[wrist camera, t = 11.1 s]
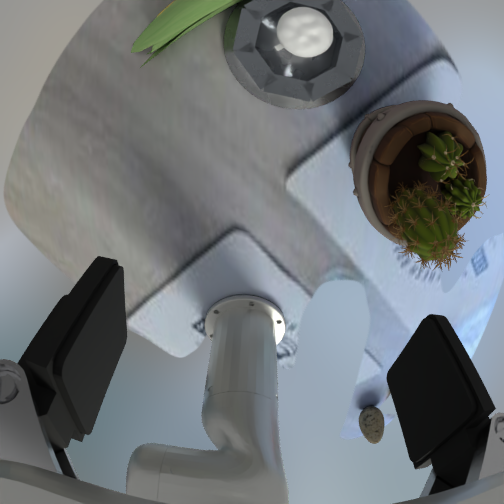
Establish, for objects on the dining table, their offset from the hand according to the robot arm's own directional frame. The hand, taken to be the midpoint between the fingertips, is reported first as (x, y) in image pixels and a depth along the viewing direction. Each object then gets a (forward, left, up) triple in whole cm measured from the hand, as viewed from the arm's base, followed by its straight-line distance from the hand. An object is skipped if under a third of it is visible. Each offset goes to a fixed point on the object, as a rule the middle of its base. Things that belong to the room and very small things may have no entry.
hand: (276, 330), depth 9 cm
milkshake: (+11, -1, -28) cm, 30 cm away
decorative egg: (-53, -37, -29) cm, 71 cm away
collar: (+11, -1, -29) cm, 31 cm away
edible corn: (+14, +9, -30) cm, 34 cm away
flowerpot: (+2, -15, -29) cm, 33 cm away
